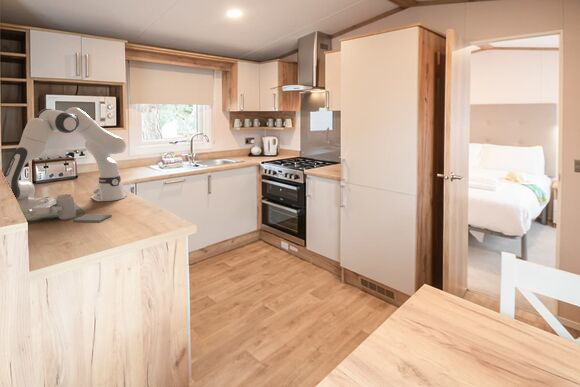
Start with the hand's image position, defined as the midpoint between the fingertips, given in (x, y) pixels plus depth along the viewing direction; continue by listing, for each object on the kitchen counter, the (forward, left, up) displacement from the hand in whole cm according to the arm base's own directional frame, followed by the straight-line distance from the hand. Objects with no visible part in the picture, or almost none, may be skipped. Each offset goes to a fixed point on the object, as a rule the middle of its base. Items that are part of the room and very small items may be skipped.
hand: (67, 205), depth 181 cm
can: (-1, -1, -7) cm, 7 cm away
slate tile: (+12, +6, -7) cm, 15 cm away
